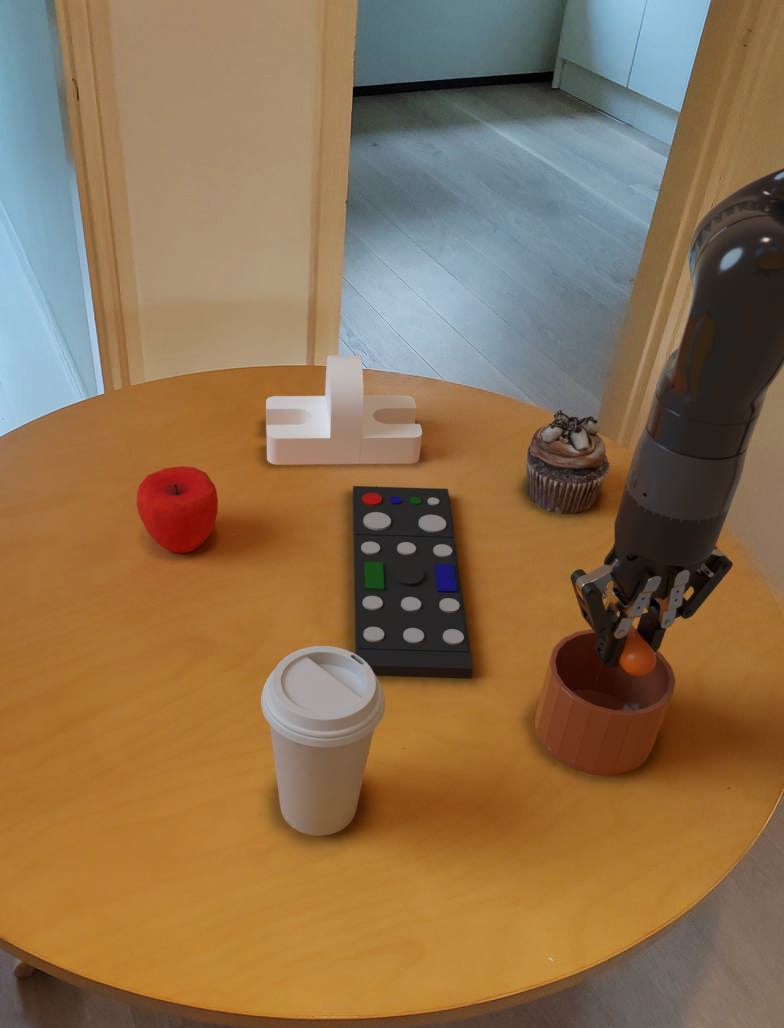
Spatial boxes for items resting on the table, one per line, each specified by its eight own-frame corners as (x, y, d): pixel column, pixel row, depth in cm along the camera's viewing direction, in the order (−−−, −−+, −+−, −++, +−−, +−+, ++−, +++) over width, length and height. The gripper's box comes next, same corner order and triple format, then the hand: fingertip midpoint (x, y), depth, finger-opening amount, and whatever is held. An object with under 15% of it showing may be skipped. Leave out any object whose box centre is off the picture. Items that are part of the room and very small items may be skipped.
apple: (158, 511, 118) (153, 453, 113) (230, 524, 116) (228, 466, 111) (128, 557, 112) (121, 497, 106) (204, 572, 110) (200, 512, 105)
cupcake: (516, 512, 119) (531, 437, 112) (523, 467, 126) (537, 395, 119) (599, 524, 118) (619, 450, 111) (602, 479, 125) (620, 406, 118)
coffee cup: (392, 832, 85) (408, 709, 75) (284, 865, 83) (285, 741, 72) (348, 751, 92) (357, 627, 82) (247, 779, 89) (244, 654, 79)
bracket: (410, 421, 134) (419, 340, 126) (420, 464, 126) (429, 380, 119) (265, 422, 133) (265, 340, 125) (267, 465, 126) (266, 381, 118)
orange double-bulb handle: (643, 687, 85) (668, 664, 84) (625, 677, 83) (651, 653, 82) (595, 625, 90) (618, 602, 89) (577, 615, 88) (600, 592, 87)
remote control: (446, 499, 121) (448, 485, 120) (470, 679, 99) (473, 664, 97) (352, 496, 121) (353, 482, 120) (355, 675, 99) (356, 660, 97)
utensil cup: (671, 726, 95) (695, 665, 89) (619, 795, 89) (641, 734, 83) (569, 674, 99) (586, 613, 94) (513, 736, 93) (528, 674, 88)
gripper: (622, 532, 70) (572, 705, 82) (792, 499, 74) (721, 670, 85) (569, 473, 75) (529, 644, 87) (730, 446, 79) (671, 614, 91)
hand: (624, 656), depth 86 cm, fingers closed on orange double-bulb handle, 2 cm apart
